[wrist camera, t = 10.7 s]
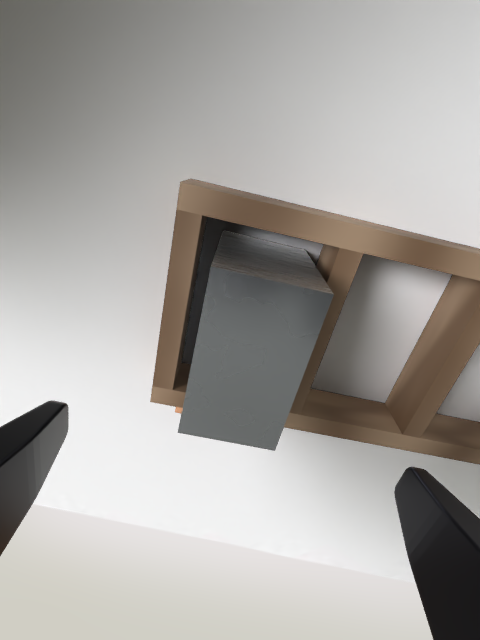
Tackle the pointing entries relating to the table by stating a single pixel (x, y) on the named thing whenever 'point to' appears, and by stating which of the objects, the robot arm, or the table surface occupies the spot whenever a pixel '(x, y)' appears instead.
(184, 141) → the table surface
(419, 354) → the slot rack
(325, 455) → the table surface
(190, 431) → the grey brushed metal block
